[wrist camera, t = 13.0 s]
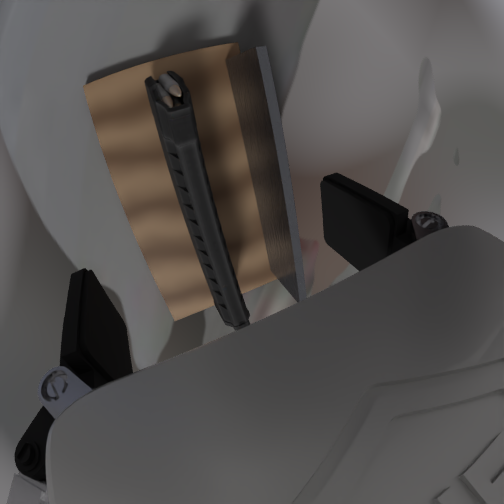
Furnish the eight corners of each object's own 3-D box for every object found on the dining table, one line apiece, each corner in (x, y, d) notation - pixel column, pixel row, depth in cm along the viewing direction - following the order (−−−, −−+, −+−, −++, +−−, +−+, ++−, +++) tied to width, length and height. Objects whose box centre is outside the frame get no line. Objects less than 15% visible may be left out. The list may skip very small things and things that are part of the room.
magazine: (259, 341, 38) (228, 109, 15) (236, 351, 37) (171, 125, 14) (214, 253, 48) (171, 66, 26) (195, 260, 48) (141, 75, 25)
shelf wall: (225, 60, 29) (255, 47, 21) (233, 58, 29) (266, 45, 21) (270, 270, 45) (300, 305, 37) (276, 268, 45) (306, 302, 38)
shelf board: (85, 86, 25) (83, 85, 24) (233, 44, 29) (237, 42, 28) (173, 314, 44) (175, 320, 42) (279, 270, 48) (284, 275, 46)
